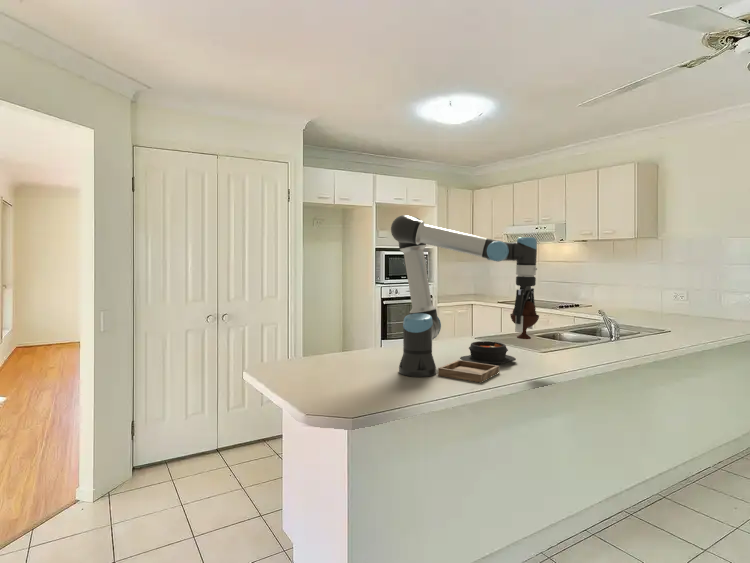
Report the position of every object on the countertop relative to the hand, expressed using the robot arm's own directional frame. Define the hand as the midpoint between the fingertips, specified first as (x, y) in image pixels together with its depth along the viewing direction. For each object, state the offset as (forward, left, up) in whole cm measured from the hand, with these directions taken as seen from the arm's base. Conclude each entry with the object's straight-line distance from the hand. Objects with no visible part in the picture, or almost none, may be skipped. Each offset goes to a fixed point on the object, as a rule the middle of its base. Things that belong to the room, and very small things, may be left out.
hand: (524, 330), depth 190 cm
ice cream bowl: (0, 0, -3) cm, 3 cm away
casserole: (+9, +19, -18) cm, 28 cm away
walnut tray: (-15, +17, -18) cm, 28 cm away
